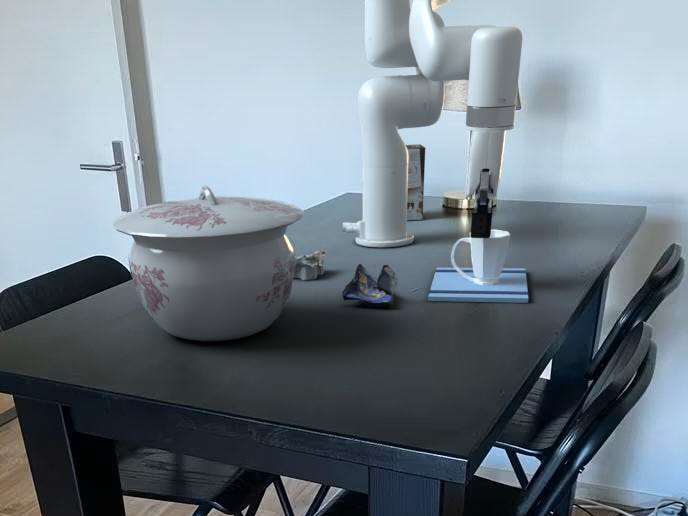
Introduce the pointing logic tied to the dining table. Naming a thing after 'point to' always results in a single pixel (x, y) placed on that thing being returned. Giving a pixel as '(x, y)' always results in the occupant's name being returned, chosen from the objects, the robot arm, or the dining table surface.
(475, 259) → the cup
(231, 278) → the chamber pot
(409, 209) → the coffee box
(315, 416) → the dining table surface
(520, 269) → the towel
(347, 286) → the snack package
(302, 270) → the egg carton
